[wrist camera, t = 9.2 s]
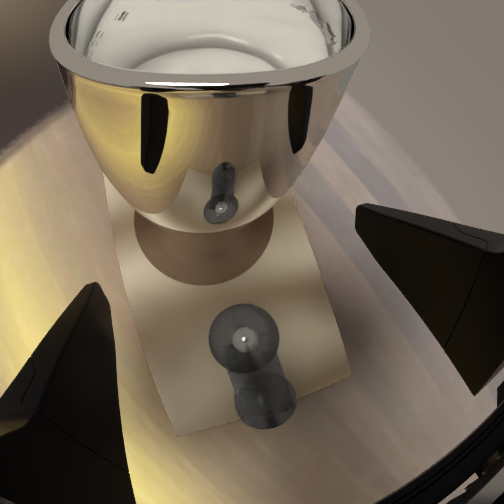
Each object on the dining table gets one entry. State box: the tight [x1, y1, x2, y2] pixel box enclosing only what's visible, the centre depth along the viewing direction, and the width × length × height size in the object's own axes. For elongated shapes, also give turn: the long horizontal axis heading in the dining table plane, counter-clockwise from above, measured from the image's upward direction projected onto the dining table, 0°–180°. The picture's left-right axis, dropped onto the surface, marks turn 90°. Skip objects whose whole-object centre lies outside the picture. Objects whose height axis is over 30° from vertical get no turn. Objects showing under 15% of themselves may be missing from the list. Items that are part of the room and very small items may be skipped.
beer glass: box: [49, 0, 371, 269], centre depth 11 cm, size 7×7×15 cm
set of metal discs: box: [209, 304, 297, 429], centre depth 18 cm, size 28×4×2 cm, turn 18°
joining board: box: [104, 174, 352, 437], centre depth 19 cm, size 26×12×1 cm, turn 18°
